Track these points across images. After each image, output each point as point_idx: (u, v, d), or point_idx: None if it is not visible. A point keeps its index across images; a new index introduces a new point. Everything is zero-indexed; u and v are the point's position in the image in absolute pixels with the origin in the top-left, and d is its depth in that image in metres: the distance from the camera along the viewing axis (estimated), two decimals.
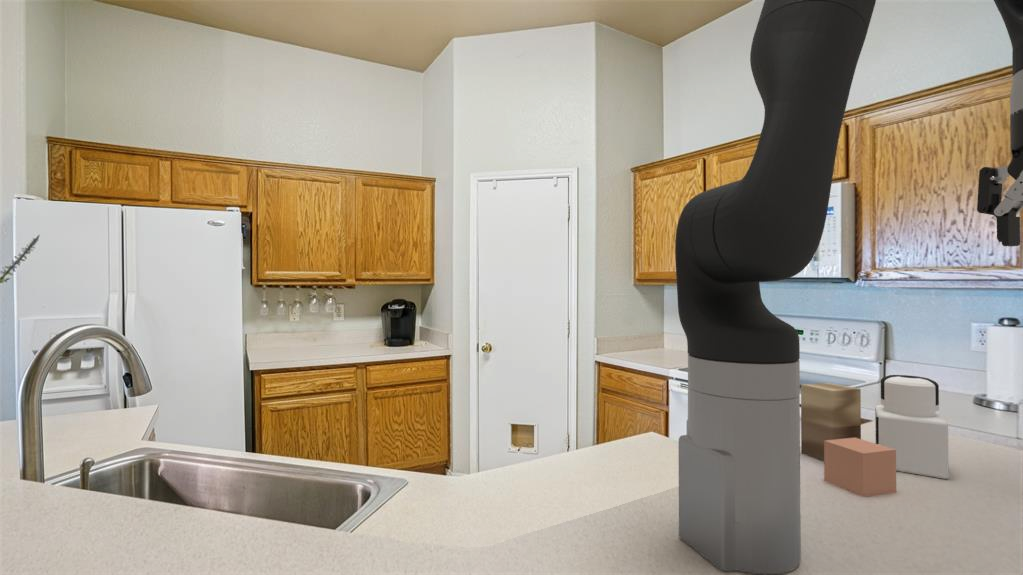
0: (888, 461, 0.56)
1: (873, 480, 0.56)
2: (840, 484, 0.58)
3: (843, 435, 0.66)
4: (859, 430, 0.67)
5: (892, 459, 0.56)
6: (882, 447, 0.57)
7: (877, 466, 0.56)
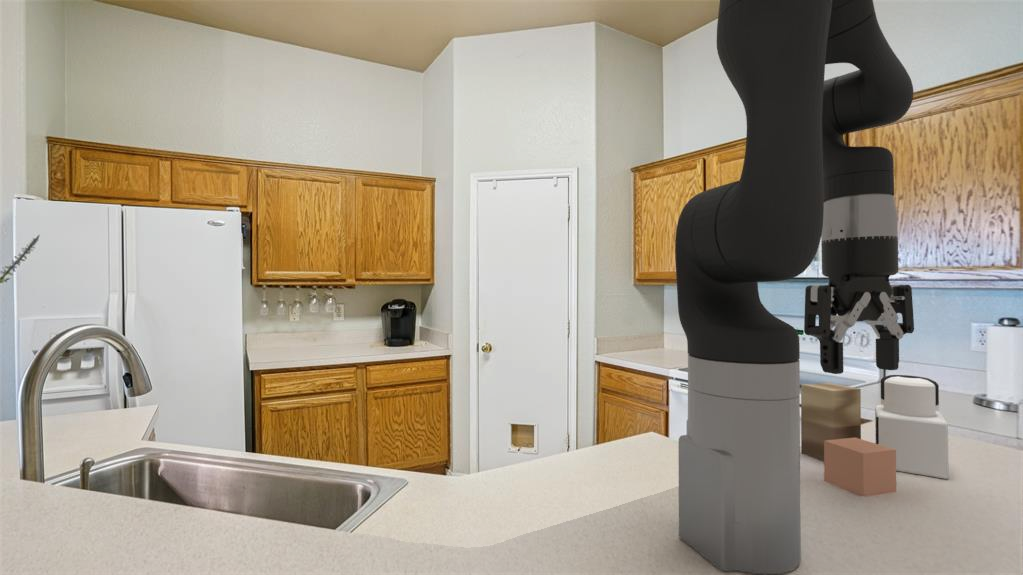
0: (888, 461, 0.56)
1: (873, 480, 0.56)
2: (840, 484, 0.58)
3: (843, 435, 0.66)
4: (859, 430, 0.67)
5: (892, 459, 0.56)
6: (882, 447, 0.57)
7: (877, 466, 0.56)
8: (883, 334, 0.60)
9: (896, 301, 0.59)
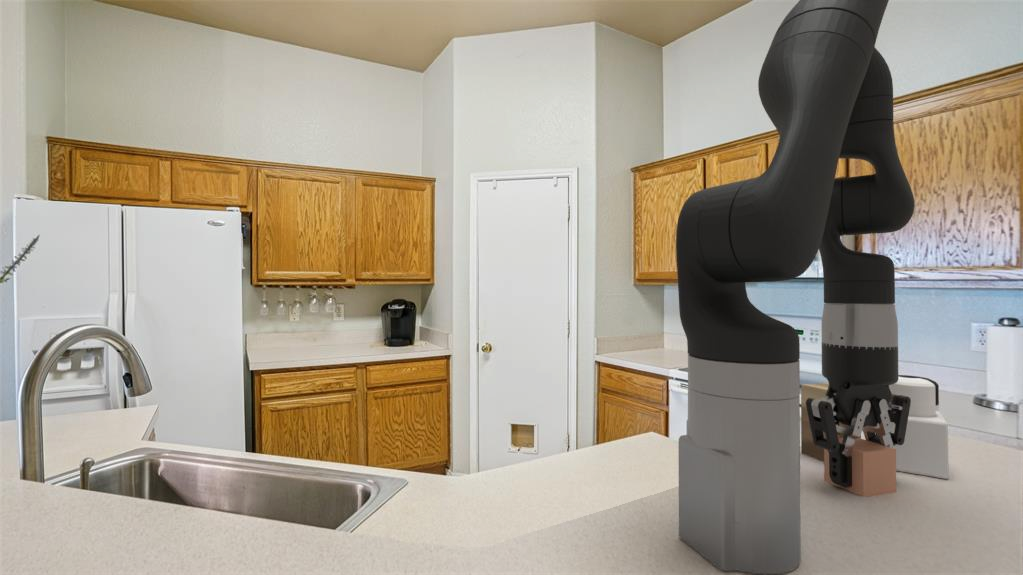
0: (888, 460, 0.56)
1: (873, 480, 0.56)
2: None
3: (843, 435, 0.66)
4: None
5: (892, 459, 0.56)
6: (882, 446, 0.57)
7: (877, 465, 0.56)
8: None
9: (893, 410, 0.59)
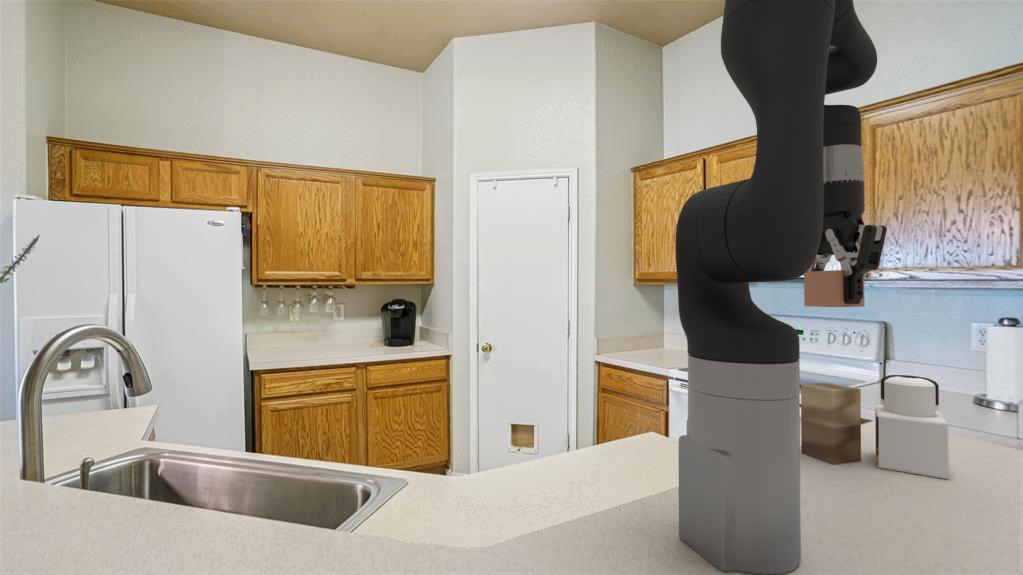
0: None
1: None
2: (848, 304, 0.66)
3: (843, 435, 0.66)
4: (859, 430, 0.67)
5: None
6: None
7: None
8: None
9: None
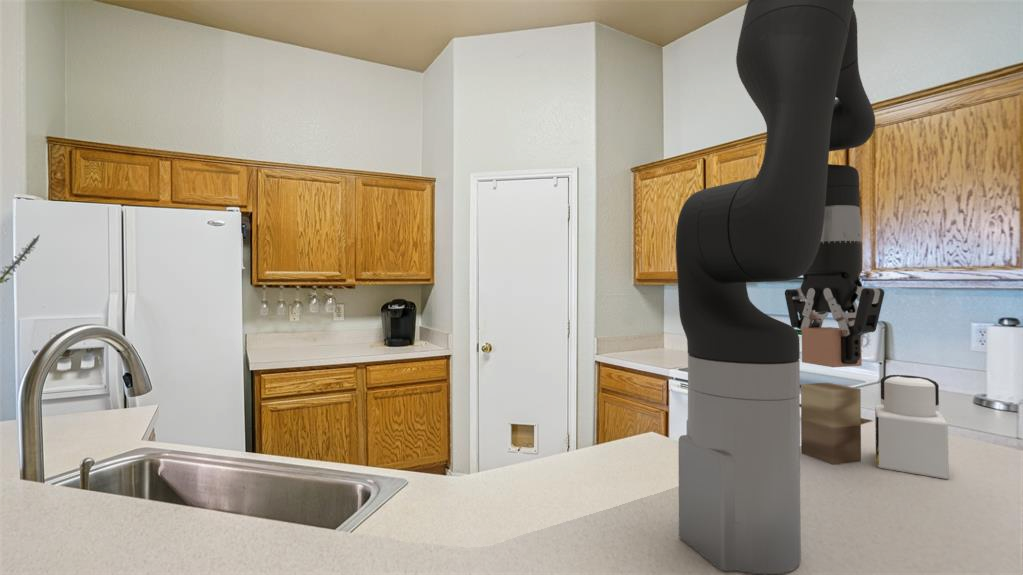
0: None
1: None
2: None
3: (843, 435, 0.66)
4: (859, 430, 0.67)
5: None
6: (827, 327, 0.71)
7: None
8: None
9: (803, 300, 0.74)
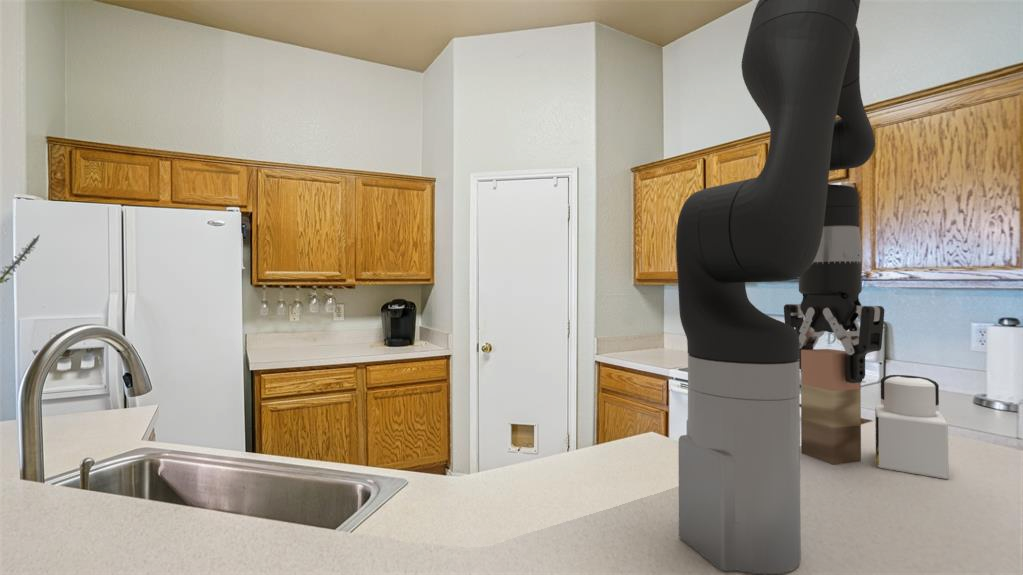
0: None
1: None
2: (844, 387, 0.66)
3: (843, 435, 0.66)
4: (859, 430, 0.67)
5: None
6: (826, 349, 0.71)
7: None
8: (807, 345, 0.72)
9: None
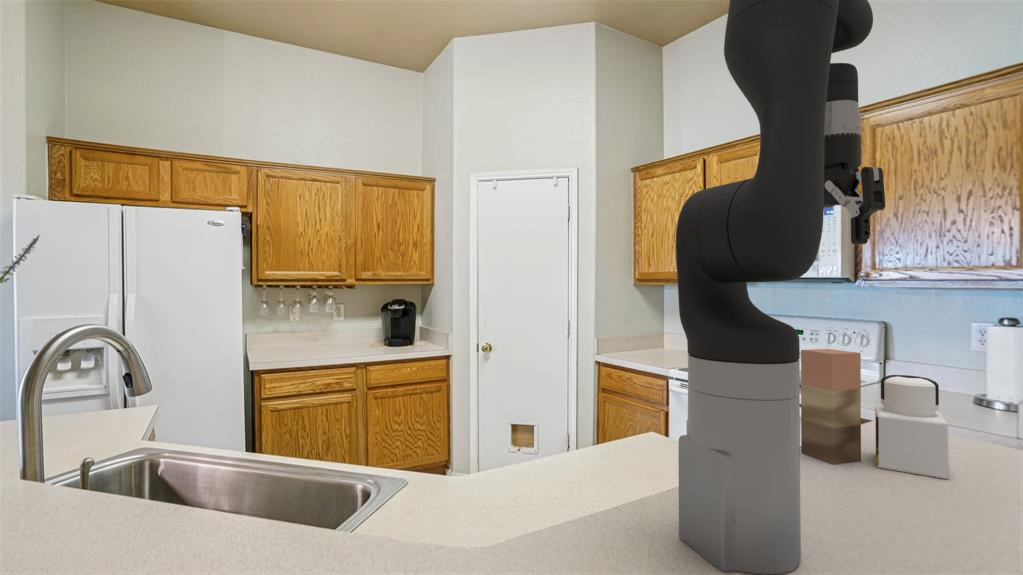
0: None
1: None
2: (844, 387, 0.66)
3: (843, 435, 0.66)
4: (859, 430, 0.67)
5: None
6: (826, 349, 0.71)
7: None
8: None
9: None
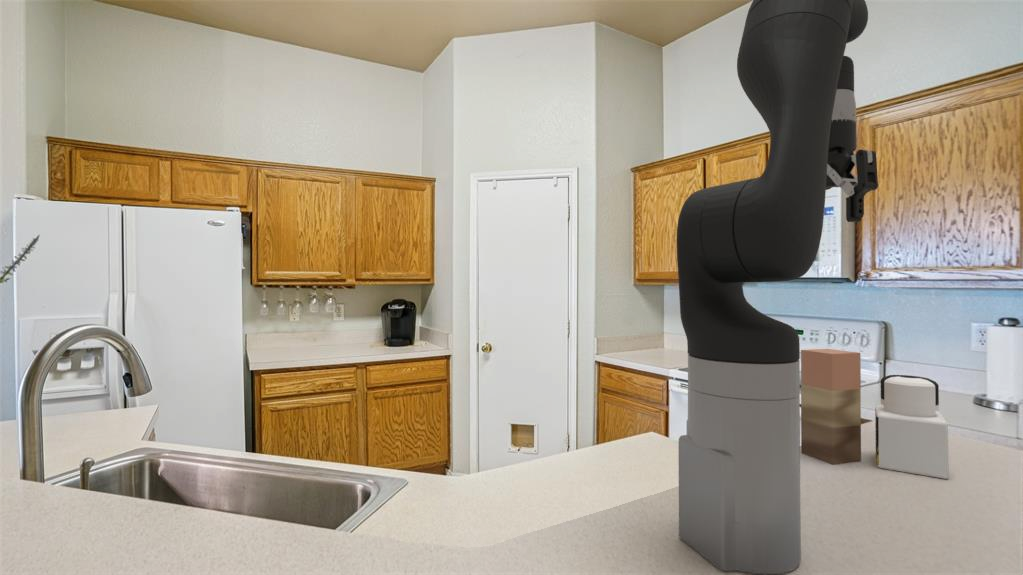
0: None
1: None
2: (844, 387, 0.66)
3: (843, 435, 0.66)
4: (859, 430, 0.67)
5: None
6: (826, 349, 0.71)
7: None
8: None
9: None
